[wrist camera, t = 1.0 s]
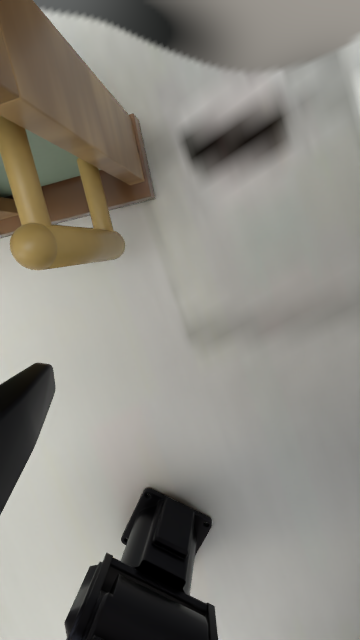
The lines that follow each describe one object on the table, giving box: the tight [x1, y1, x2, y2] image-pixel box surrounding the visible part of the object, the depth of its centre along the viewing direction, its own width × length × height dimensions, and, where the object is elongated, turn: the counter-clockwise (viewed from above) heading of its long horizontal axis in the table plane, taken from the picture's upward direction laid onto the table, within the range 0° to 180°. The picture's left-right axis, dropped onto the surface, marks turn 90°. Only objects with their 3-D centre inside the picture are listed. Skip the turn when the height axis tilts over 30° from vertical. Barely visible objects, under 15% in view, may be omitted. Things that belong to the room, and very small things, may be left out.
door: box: [0, 115, 125, 270], centre depth 17 cm, size 7×9×12 cm
